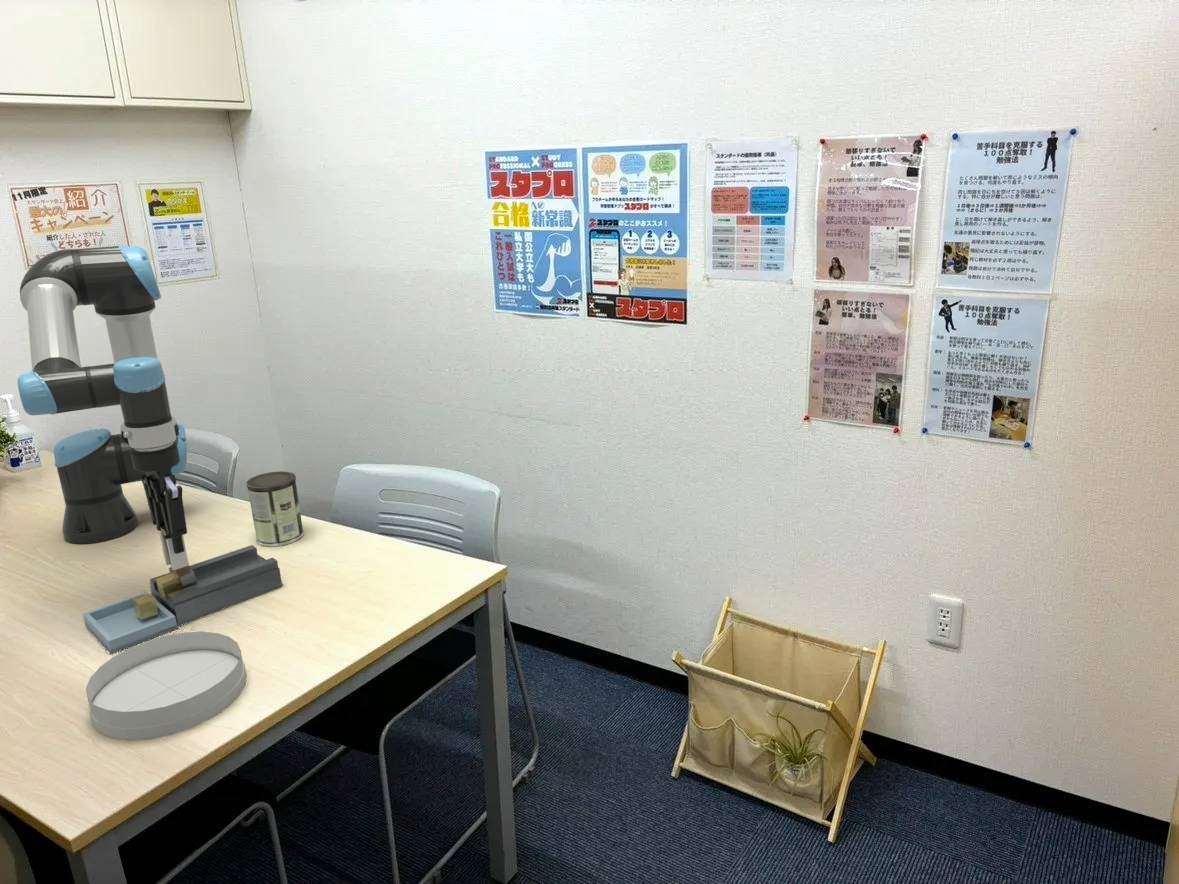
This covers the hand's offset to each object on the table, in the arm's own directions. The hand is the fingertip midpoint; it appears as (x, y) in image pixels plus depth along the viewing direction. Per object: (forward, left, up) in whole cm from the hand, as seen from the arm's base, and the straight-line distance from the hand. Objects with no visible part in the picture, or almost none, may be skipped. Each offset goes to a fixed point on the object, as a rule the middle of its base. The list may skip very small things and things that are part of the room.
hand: (177, 564), depth 152 cm
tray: (0, -10, -9) cm, 13 cm away
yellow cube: (0, -2, -5) cm, 5 cm away
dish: (+27, -13, -10) cm, 31 cm away
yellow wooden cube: (0, -5, -6) cm, 8 cm away
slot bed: (0, +6, -9) cm, 11 cm away
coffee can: (-17, +27, -9) cm, 34 cm away
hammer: (0, +1, -4) cm, 4 cm away
